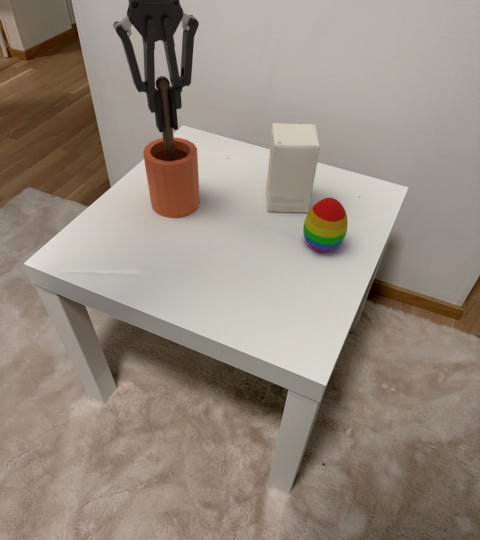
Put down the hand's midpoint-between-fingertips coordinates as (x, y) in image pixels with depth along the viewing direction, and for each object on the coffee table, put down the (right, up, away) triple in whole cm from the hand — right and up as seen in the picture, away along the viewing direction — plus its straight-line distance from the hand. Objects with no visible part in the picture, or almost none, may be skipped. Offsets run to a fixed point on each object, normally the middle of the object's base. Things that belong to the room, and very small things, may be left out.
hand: (167, 127), depth 81 cm
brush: (0, -9, +11) cm, 14 cm away
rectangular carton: (+24, -9, +15) cm, 30 cm away
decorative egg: (+29, -20, +6) cm, 36 cm away
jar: (0, -10, +14) cm, 17 cm away
